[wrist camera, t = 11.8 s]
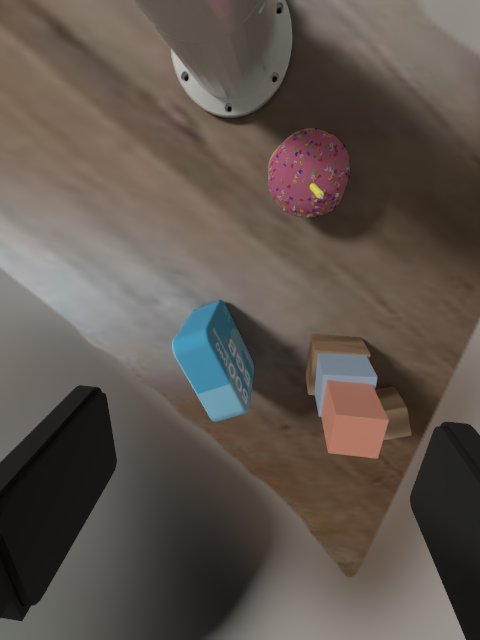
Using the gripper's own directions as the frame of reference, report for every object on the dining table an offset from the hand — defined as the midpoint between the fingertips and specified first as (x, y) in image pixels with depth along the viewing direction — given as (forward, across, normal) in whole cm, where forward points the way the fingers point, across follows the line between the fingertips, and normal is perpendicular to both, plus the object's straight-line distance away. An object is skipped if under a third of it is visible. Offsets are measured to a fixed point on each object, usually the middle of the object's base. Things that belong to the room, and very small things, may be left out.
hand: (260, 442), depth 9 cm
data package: (+35, +6, +14) cm, 38 cm away
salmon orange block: (+24, -10, +16) cm, 31 cm away
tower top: (+30, -10, +16) cm, 35 cm away
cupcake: (+34, -3, -8) cm, 36 cm away
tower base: (+34, -10, +16) cm, 39 cm away
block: (+34, -18, +23) cm, 45 cm away
